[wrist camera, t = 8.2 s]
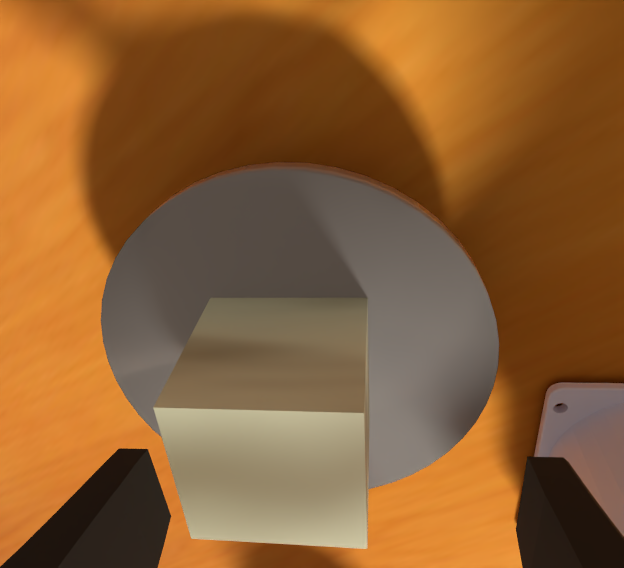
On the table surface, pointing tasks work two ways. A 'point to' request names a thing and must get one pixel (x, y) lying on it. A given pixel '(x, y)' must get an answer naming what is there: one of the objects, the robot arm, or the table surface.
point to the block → (272, 422)
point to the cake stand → (314, 294)
